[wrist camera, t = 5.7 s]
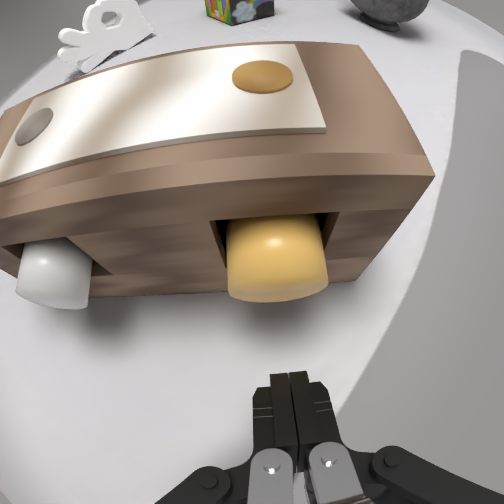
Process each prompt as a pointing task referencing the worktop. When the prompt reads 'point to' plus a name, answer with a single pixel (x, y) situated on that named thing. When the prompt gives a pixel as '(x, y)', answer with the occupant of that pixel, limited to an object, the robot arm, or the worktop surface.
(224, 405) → the worktop surface
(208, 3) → the chalk box
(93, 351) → the worktop surface
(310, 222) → the amber button
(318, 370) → the worktop surface
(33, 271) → the grey button
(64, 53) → the white lobed cutout
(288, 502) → the robot arm
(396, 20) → the grey vase
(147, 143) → the button panel
